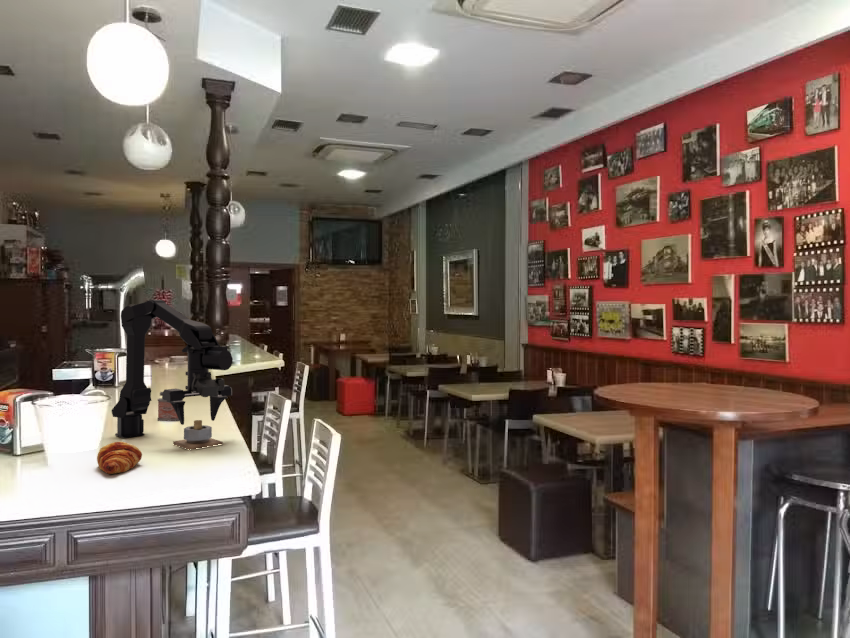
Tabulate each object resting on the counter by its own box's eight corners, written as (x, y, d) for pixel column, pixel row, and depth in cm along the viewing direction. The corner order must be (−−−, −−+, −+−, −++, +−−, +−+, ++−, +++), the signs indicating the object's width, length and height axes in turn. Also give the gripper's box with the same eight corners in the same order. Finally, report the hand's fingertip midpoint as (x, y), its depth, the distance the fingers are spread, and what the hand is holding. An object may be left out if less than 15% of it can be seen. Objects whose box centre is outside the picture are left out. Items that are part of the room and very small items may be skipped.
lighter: (182, 419, 224) (182, 391, 224) (177, 421, 221) (178, 392, 220) (160, 419, 225) (160, 390, 225) (155, 420, 221) (155, 392, 221)
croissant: (113, 471, 169) (97, 445, 168) (149, 451, 172) (134, 425, 171) (99, 491, 149) (81, 462, 148) (141, 469, 152) (124, 440, 151)
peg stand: (189, 450, 178) (189, 425, 178) (173, 444, 185) (173, 420, 185) (222, 445, 185) (222, 420, 185) (205, 439, 192) (205, 416, 192)
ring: (192, 441, 180) (192, 431, 180) (180, 437, 185) (180, 427, 185) (215, 438, 185) (215, 427, 185) (203, 434, 190) (203, 424, 190)
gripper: (179, 373, 172) (179, 430, 173) (241, 368, 186) (241, 422, 186) (161, 369, 180) (161, 425, 180) (222, 365, 193) (222, 417, 194)
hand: (197, 422), depth 185 cm, fingers open, 9 cm apart
